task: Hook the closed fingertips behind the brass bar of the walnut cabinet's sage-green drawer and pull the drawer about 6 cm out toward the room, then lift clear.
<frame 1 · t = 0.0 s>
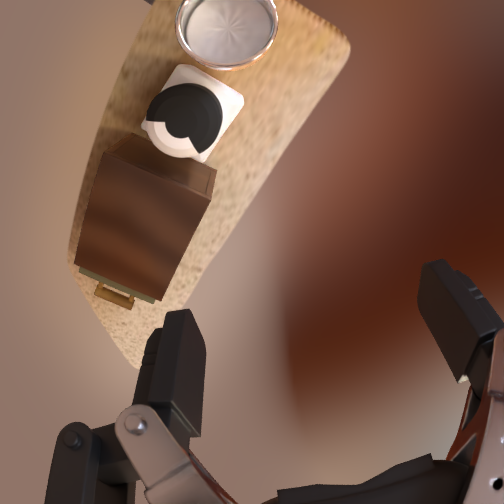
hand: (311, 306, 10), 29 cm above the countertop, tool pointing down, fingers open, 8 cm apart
drawer: (131, 247, 37), point 4 cm above the countertop, slide at 0.5 cm
cabinet: (152, 199, 38), on the countertop
silver metal tumbler: (231, 41, 29), on the countertop
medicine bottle: (199, 105, 33), on the countertop
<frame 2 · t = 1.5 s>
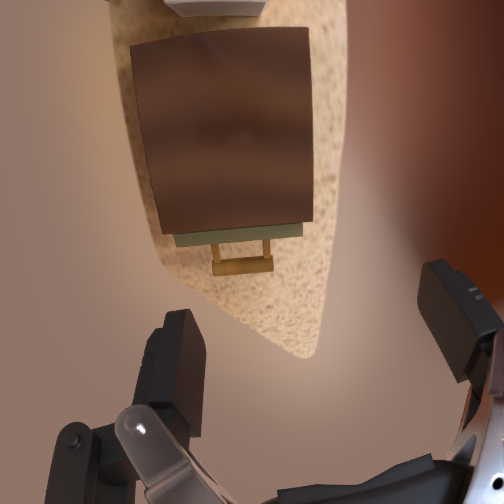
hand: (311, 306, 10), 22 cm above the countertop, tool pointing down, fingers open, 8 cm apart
drawer: (234, 177, 26), point 4 cm above the countertop, slide at 0.5 cm
cabinet: (229, 114, 27), on the countertop
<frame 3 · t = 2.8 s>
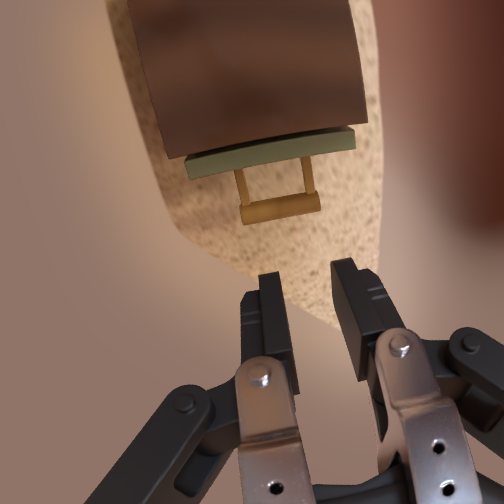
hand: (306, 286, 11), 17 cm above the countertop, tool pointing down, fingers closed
drawer: (256, 91, 19), point 4 cm above the countertop, slide at 0.5 cm
cabinet: (241, 33, 20), on the countertop
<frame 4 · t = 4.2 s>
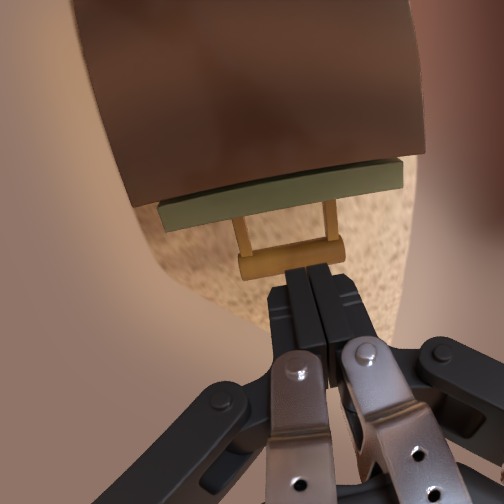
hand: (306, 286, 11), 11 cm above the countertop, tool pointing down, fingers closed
drawer: (262, 98, 13), point 4 cm above the countertop, slide at 0.5 cm
cabinet: (240, 19, 15), on the countertop
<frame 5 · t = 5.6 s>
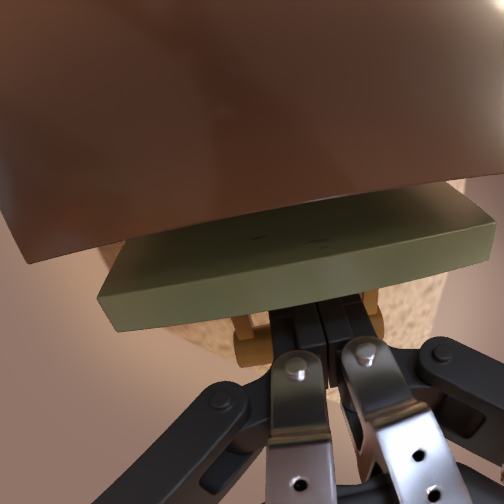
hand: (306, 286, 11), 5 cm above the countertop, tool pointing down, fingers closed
drawer: (271, 103, 8), point 4 cm above the countertop, slide at 1.7 cm, touching gripper
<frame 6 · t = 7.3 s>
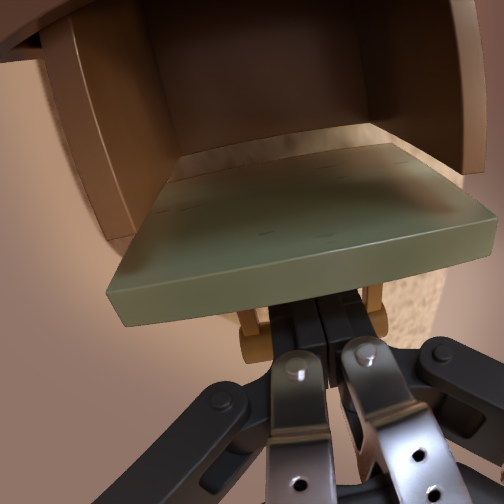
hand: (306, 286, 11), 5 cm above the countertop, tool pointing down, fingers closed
drawer: (277, 101, 8), point 4 cm above the countertop, slide at 5.9 cm
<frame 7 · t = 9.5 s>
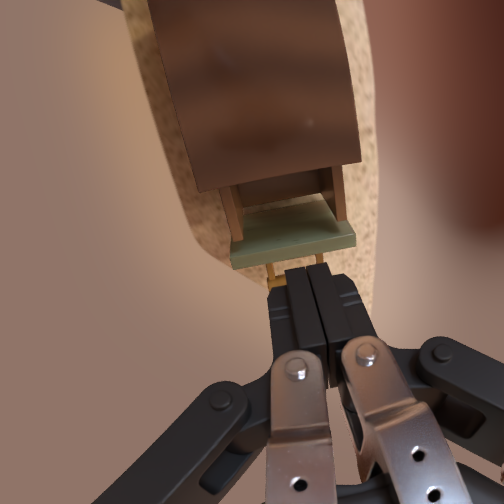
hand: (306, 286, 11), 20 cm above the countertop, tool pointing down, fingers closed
drawer: (282, 194, 26), point 4 cm above the countertop, slide at 5.9 cm
cabinet: (255, 73, 25), on the countertop
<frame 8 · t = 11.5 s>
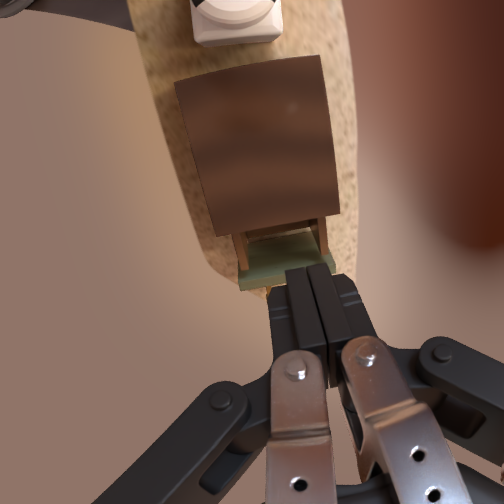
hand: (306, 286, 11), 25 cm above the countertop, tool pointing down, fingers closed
drawer: (278, 231, 34), point 4 cm above the countertop, slide at 5.9 cm
cabinet: (258, 129, 32), on the countertop
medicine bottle: (235, 13, 25), on the countertop
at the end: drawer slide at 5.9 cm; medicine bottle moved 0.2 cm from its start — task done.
